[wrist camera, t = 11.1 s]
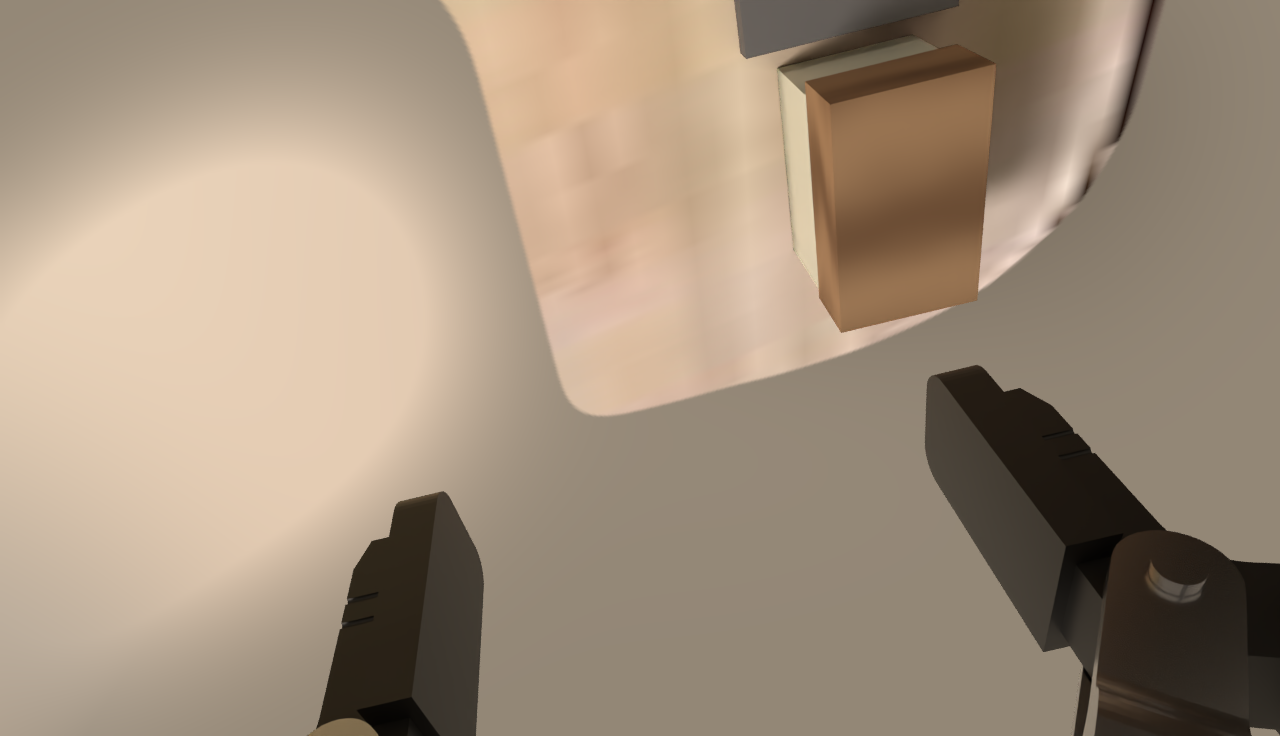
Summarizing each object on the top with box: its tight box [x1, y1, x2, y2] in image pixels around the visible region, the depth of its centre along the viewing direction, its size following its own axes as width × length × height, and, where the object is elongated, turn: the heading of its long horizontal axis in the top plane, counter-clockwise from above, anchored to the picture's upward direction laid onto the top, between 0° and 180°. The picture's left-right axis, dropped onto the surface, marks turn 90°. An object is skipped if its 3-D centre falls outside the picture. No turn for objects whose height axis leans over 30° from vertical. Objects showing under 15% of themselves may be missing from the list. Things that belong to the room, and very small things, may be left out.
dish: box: [777, 35, 938, 289], centre depth 34 cm, size 9×6×4 cm, turn 12°
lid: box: [805, 44, 996, 333], centre depth 31 cm, size 10×6×3 cm, turn 12°
